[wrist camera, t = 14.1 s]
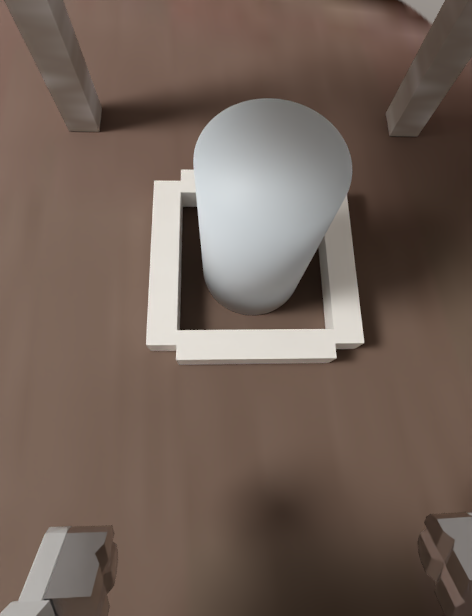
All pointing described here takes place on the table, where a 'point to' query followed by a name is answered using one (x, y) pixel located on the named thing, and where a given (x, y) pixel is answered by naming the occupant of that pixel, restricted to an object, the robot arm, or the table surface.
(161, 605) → the table surface
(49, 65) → the overhang shelf
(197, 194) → the canister
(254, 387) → the table surface
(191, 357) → the white square frame
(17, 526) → the table surface
